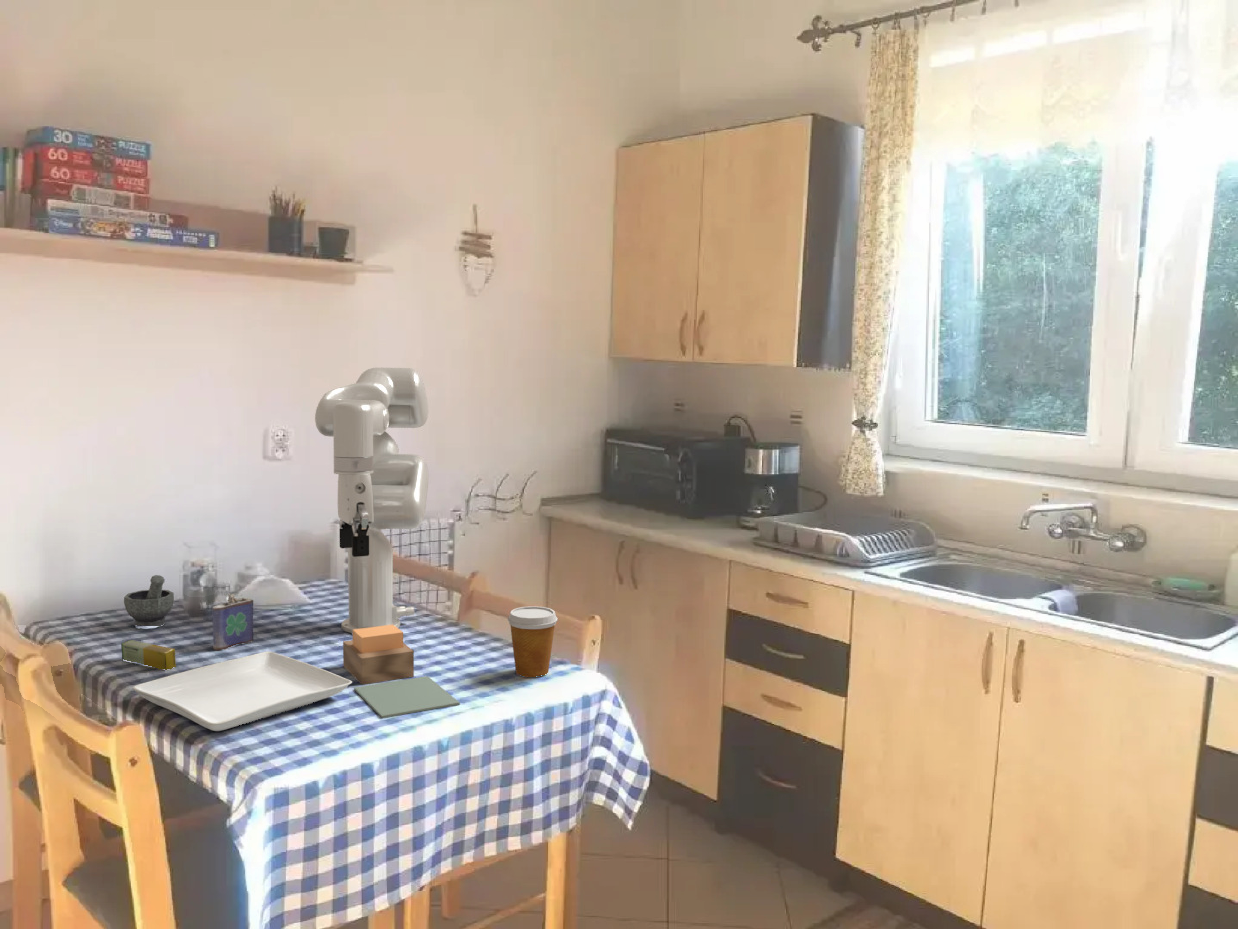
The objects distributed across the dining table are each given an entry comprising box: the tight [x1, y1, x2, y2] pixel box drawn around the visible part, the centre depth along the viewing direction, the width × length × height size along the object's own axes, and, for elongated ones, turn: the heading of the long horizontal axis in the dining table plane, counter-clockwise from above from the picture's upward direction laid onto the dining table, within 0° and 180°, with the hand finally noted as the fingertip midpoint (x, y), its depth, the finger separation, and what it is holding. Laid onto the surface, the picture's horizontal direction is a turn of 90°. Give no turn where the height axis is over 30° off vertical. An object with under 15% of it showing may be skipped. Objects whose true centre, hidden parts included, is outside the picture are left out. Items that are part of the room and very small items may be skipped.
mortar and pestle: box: [123, 574, 175, 626], centre depth 225 cm, size 11×9×12 cm
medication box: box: [120, 639, 177, 671], centre depth 200 cm, size 12×3×4 cm, turn 65°
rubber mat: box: [353, 675, 461, 719], centre depth 185 cm, size 14×16×1 cm
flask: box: [211, 593, 254, 651], centre depth 213 cm, size 9×3×11 cm, turn 146°
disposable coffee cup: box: [507, 605, 558, 678], centre depth 199 cm, size 10×10×12 cm
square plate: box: [131, 650, 353, 732], centre depth 182 cm, size 27×27×4 cm
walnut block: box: [342, 639, 415, 686], centre depth 198 cm, size 10×12×5 cm
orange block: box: [352, 625, 404, 653], centre depth 198 cm, size 8×6×3 cm
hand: (354, 551), depth 204 cm, fingers open, 9 cm apart
